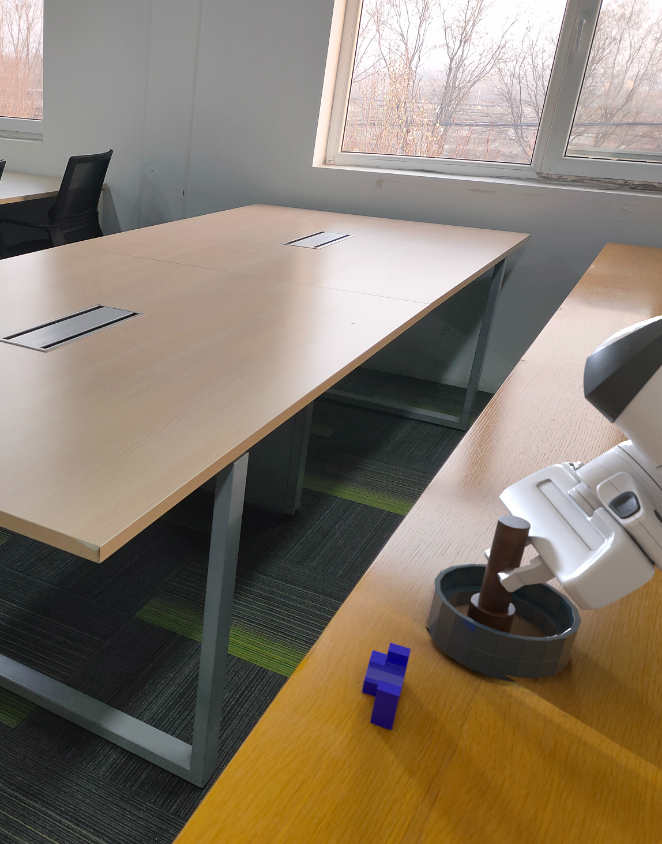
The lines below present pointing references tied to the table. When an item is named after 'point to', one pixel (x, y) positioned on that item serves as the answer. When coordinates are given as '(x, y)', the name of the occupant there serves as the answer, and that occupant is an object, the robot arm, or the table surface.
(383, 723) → the blue stepped block
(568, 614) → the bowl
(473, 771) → the table surface
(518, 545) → the pestle
